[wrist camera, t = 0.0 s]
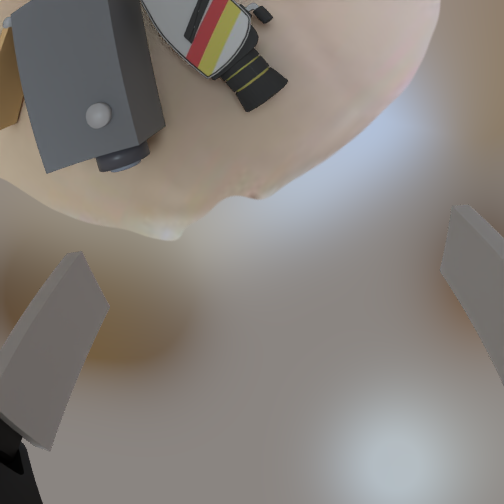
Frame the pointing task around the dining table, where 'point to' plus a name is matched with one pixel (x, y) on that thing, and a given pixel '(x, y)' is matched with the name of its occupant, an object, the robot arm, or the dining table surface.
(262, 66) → the film camera
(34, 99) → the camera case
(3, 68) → the side door
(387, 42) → the dining table surface
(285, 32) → the dining table surface
